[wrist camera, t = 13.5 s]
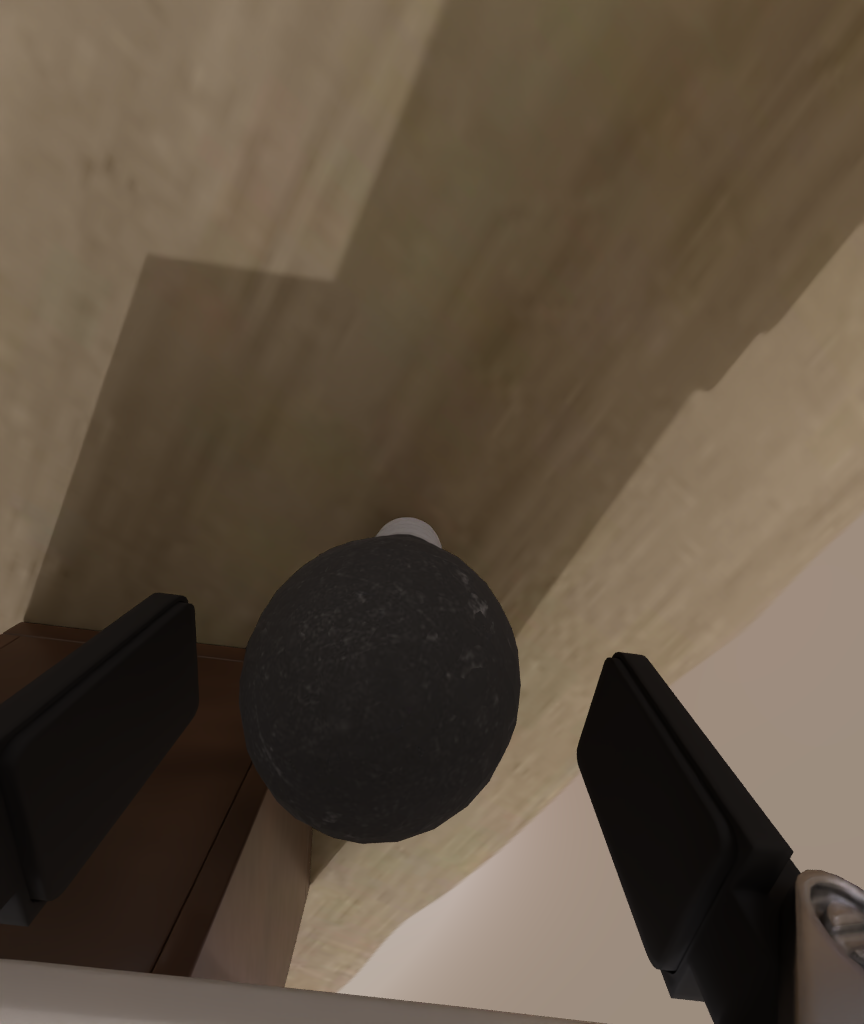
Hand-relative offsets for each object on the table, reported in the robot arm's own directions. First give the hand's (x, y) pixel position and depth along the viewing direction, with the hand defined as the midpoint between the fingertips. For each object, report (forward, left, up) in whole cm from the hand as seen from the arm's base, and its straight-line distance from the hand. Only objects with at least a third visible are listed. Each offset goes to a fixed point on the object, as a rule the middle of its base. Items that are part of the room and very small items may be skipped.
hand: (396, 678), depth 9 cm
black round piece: (-1, 0, -7) cm, 7 cm away
